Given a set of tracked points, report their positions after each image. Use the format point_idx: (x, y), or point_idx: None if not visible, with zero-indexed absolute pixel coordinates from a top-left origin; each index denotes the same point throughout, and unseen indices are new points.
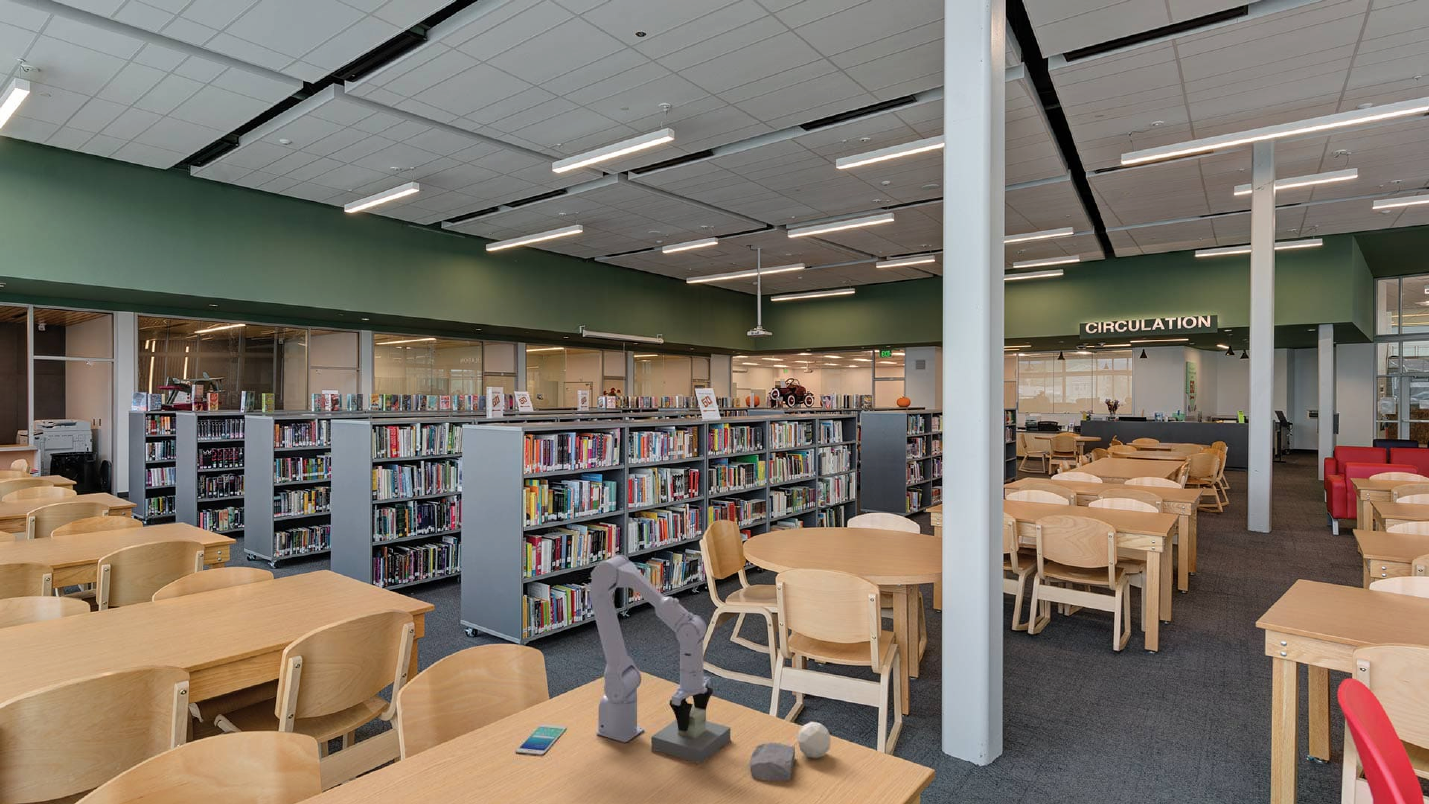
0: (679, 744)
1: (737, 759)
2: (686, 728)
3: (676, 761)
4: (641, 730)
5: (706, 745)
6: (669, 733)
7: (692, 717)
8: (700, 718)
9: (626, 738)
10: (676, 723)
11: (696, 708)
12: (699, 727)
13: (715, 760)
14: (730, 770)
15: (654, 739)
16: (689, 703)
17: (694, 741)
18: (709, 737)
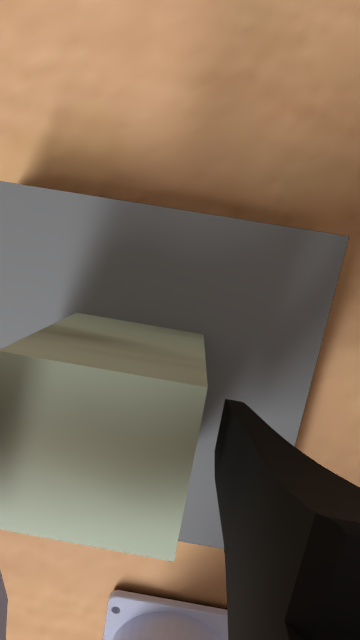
0: (306, 391)
1: (202, 62)
2: (248, 408)
3: (326, 363)
4: (132, 600)
5: (266, 230)
6: (197, 488)
7: (201, 414)
8: (115, 355)
9: (224, 626)
10: None
11: (9, 447)
12: (144, 338)
13: (255, 181)
14: (335, 52)
15: None
16: (331, 593)
17: (240, 323)
18: (154, 255)
